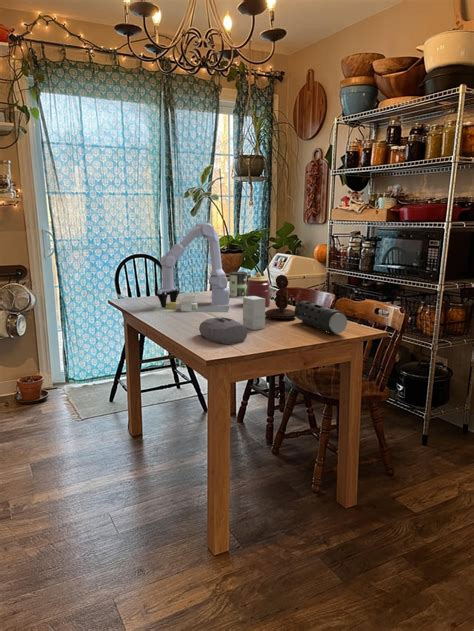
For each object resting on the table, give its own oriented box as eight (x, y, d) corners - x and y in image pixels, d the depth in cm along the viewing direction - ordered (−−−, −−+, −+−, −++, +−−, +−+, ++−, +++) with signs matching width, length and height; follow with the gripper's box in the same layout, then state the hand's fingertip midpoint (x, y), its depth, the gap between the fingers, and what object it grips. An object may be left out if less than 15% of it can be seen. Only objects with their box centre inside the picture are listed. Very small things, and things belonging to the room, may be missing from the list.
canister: (244, 307, 252) (244, 273, 248) (246, 302, 264) (247, 270, 261) (269, 308, 250) (270, 274, 247) (270, 303, 263) (271, 271, 259)
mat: (229, 306, 253) (229, 306, 253) (228, 313, 237) (228, 312, 237) (158, 305, 253) (158, 305, 253) (152, 312, 238) (152, 311, 238)
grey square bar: (194, 305, 252) (194, 296, 251) (191, 311, 238) (191, 301, 237) (185, 305, 253) (184, 296, 252) (181, 311, 238) (181, 301, 237)
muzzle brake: (311, 321, 222) (312, 299, 219) (348, 336, 196) (349, 311, 194) (293, 323, 218) (294, 300, 216) (328, 338, 193) (329, 312, 191)
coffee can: (248, 295, 288) (248, 271, 285) (245, 298, 278) (245, 273, 275) (231, 294, 290) (231, 271, 287) (227, 297, 280) (227, 273, 277)
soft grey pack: (252, 341, 187) (221, 330, 203) (252, 319, 186) (222, 311, 201) (220, 347, 178) (191, 335, 194) (220, 325, 177) (191, 315, 192)
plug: (197, 308, 245) (197, 302, 245) (196, 309, 242) (196, 303, 242) (166, 307, 247) (166, 301, 246) (164, 308, 244) (164, 303, 243)
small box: (265, 328, 207) (265, 298, 204) (252, 330, 204) (253, 299, 201) (254, 324, 214) (254, 295, 211) (242, 326, 210) (242, 296, 208)
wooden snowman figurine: (297, 321, 220) (299, 278, 216) (265, 321, 221) (266, 277, 217) (295, 315, 235) (297, 273, 231) (264, 314, 236) (265, 273, 231)
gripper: (165, 281, 234) (165, 309, 237) (183, 278, 247) (183, 304, 249) (153, 280, 238) (154, 307, 240) (171, 277, 250) (172, 303, 253)
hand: (168, 306), depth 245 cm, fingers open, 7 cm apart
